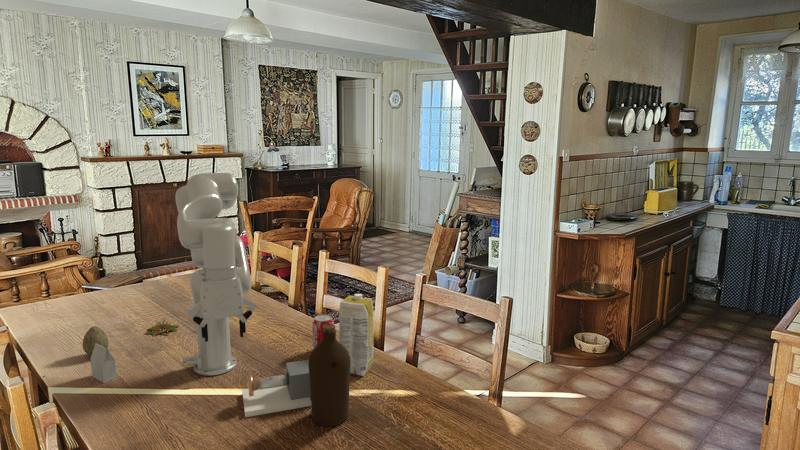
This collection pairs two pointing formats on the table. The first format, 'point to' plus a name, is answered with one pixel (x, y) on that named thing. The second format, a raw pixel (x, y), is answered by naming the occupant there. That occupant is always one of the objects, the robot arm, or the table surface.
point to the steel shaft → (267, 382)
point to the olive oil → (329, 380)
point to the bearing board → (281, 393)
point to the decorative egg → (94, 339)
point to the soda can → (320, 327)
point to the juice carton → (357, 332)
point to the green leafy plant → (158, 327)
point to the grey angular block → (102, 364)
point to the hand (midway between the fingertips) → (224, 337)
